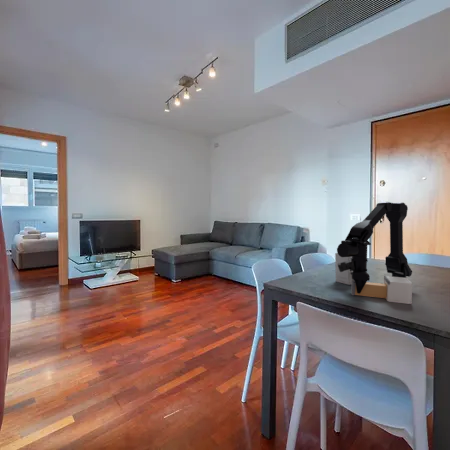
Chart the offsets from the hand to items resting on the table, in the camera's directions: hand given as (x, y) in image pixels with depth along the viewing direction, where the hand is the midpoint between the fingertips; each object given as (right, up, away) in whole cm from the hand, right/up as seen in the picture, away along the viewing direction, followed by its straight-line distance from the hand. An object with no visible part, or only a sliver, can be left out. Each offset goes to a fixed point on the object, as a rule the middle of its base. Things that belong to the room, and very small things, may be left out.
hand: (358, 291), depth 116 cm
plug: (+5, -1, -2) cm, 6 cm away
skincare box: (+3, 0, +19) cm, 20 cm away
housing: (+13, -2, -5) cm, 14 cm away
